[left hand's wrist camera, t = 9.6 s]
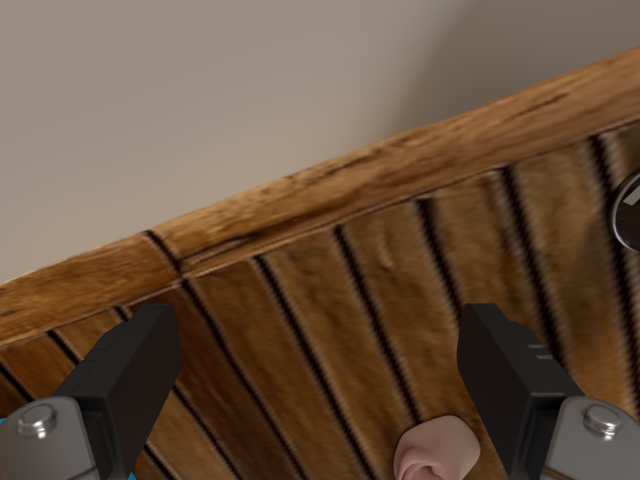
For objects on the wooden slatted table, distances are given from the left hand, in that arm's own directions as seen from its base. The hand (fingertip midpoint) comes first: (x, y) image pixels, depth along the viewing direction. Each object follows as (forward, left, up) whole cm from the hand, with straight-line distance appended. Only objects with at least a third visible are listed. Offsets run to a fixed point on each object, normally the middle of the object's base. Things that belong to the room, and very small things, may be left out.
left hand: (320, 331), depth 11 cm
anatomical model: (-2, +41, -29) cm, 51 cm away
